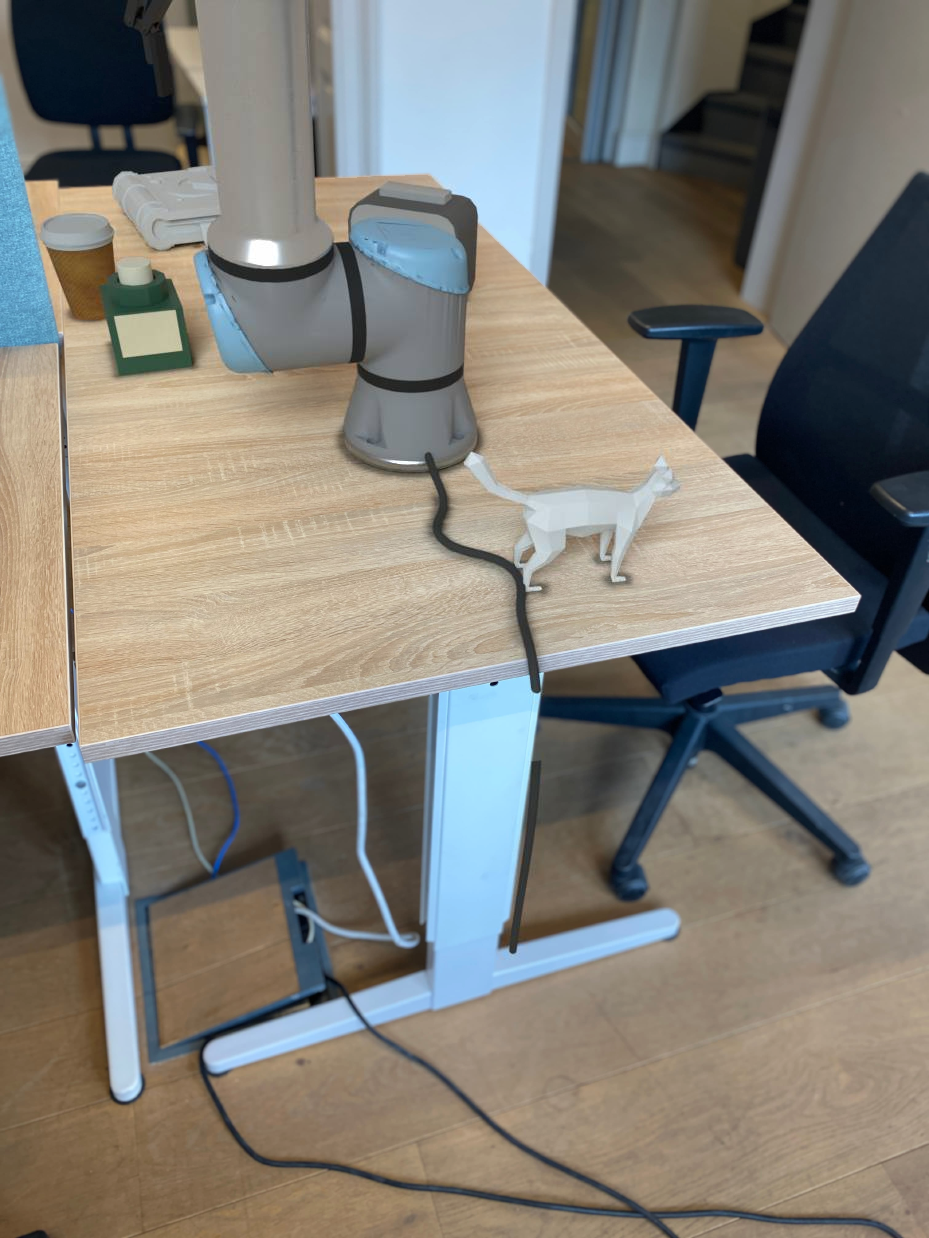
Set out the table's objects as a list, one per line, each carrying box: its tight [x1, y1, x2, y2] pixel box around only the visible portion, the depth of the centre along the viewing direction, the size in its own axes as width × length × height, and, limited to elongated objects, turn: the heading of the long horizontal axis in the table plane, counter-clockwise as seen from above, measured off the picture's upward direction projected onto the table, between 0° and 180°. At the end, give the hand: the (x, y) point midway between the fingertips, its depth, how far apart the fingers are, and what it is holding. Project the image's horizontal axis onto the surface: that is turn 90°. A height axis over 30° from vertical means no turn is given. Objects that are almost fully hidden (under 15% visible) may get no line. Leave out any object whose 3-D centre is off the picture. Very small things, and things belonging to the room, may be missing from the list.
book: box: [111, 165, 221, 252], centre depth 153 cm, size 19×28×8 cm
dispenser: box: [99, 268, 193, 377], centre depth 114 cm, size 10×9×10 cm
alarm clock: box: [347, 180, 479, 296], centre depth 131 cm, size 16×11×16 cm
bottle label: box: [114, 310, 183, 358], centre depth 111 cm, size 1×7×5 cm, turn 112°
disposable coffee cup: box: [38, 212, 116, 321], centre depth 123 cm, size 10×10×12 cm
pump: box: [115, 256, 154, 286], centre depth 111 cm, size 4×4×2 cm
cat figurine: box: [463, 451, 682, 593], centre depth 81 cm, size 4×20×14 cm, turn 102°
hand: (216, 99), depth 113 cm, fingers open, 13 cm apart
